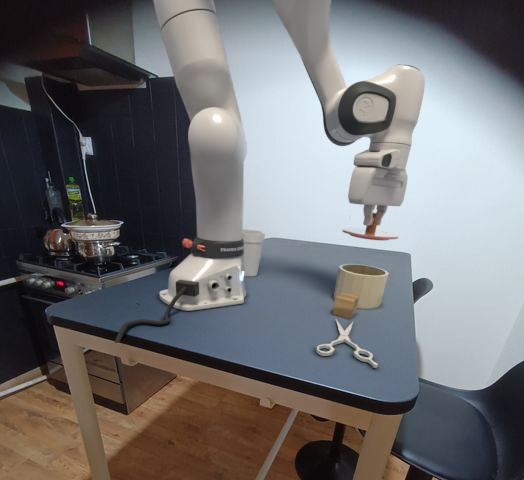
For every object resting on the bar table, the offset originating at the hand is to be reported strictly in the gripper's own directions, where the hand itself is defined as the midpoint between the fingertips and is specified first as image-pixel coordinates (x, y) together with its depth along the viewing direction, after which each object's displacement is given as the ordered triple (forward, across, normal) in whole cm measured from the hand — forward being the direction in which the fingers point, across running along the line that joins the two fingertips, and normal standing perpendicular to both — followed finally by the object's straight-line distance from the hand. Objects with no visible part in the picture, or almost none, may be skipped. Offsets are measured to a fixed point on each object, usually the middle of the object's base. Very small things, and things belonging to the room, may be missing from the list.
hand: (371, 225), depth 78 cm
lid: (+2, 0, 0) cm, 2 cm away
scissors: (+20, +24, +13) cm, 34 cm away
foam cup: (+20, +9, -35) cm, 42 cm away
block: (+20, +12, +5) cm, 23 cm away
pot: (+19, 0, +1) cm, 19 cm away
